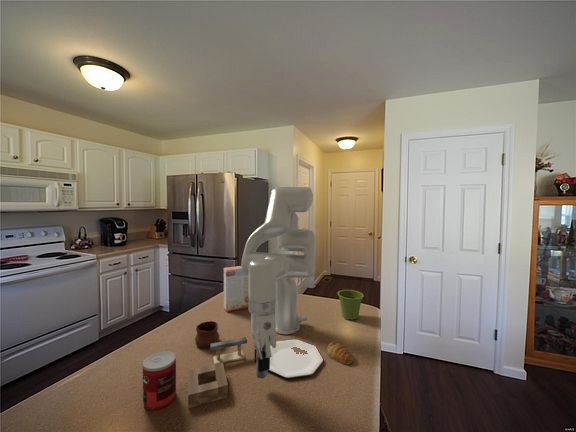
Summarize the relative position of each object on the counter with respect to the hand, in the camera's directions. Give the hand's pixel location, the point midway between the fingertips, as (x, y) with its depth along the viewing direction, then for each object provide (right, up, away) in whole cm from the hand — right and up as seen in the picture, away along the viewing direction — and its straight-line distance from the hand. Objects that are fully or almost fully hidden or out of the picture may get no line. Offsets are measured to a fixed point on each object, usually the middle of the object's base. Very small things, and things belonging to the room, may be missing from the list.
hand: (262, 365), depth 70 cm
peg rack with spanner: (-13, -6, +14) cm, 20 cm away
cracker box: (-18, -4, +55) cm, 58 cm away
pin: (0, -3, 0) cm, 3 cm away
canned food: (-27, -7, -4) cm, 28 cm away
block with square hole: (-16, -7, -1) cm, 17 cm away
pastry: (+26, -7, +16) cm, 31 cm away
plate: (+9, -7, +14) cm, 18 cm away
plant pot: (+37, -6, +46) cm, 59 cm away
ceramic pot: (-23, -6, +23) cm, 33 cm away
